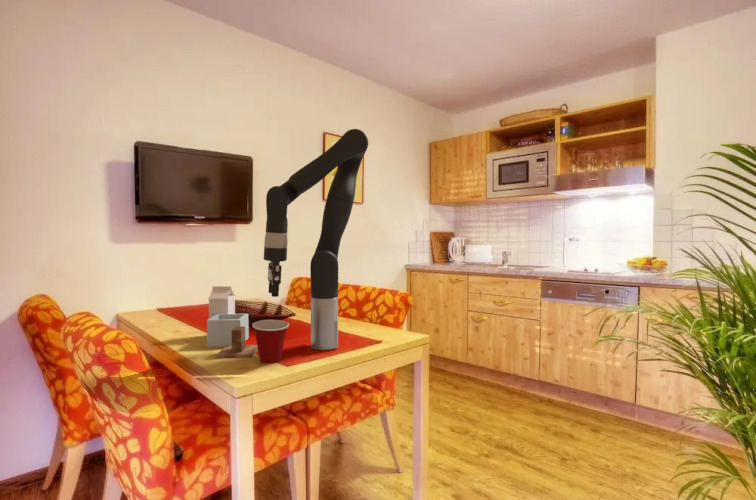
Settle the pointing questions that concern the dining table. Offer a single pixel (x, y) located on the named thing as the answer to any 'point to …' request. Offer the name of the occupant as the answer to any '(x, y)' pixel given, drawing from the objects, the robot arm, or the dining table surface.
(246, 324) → the grey storage bin
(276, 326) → the plastic cup
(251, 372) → the dining table surface
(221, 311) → the milk carton
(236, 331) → the wooden t-shaped stand
